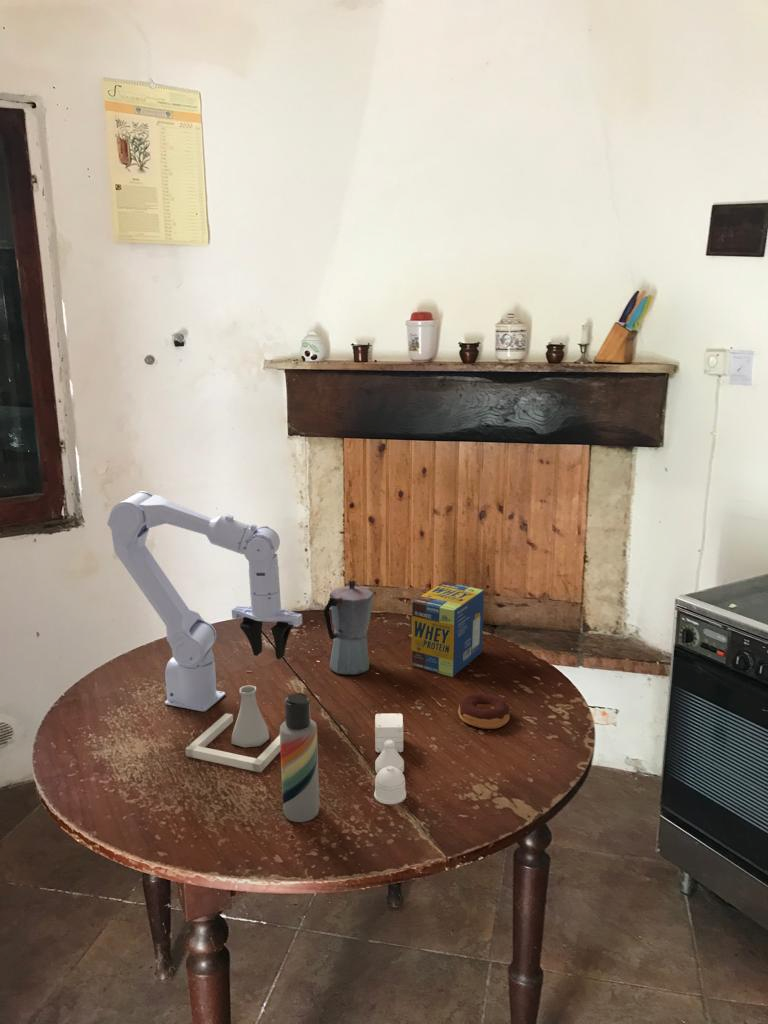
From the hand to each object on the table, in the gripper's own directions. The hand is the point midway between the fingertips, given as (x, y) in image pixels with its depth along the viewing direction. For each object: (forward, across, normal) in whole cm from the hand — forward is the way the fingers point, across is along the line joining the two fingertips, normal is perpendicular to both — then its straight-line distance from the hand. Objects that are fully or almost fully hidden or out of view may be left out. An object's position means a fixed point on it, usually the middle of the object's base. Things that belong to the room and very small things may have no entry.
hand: (269, 655), depth 158 cm
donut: (+12, -41, -9) cm, 44 cm away
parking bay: (+10, -2, +15) cm, 19 cm away
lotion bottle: (+11, -22, +30) cm, 39 cm away
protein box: (+11, -28, -32) cm, 44 cm away
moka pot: (+11, -8, -20) cm, 24 cm away
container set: (+11, -30, +14) cm, 35 cm away
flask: (+11, -3, +13) cm, 17 cm away
